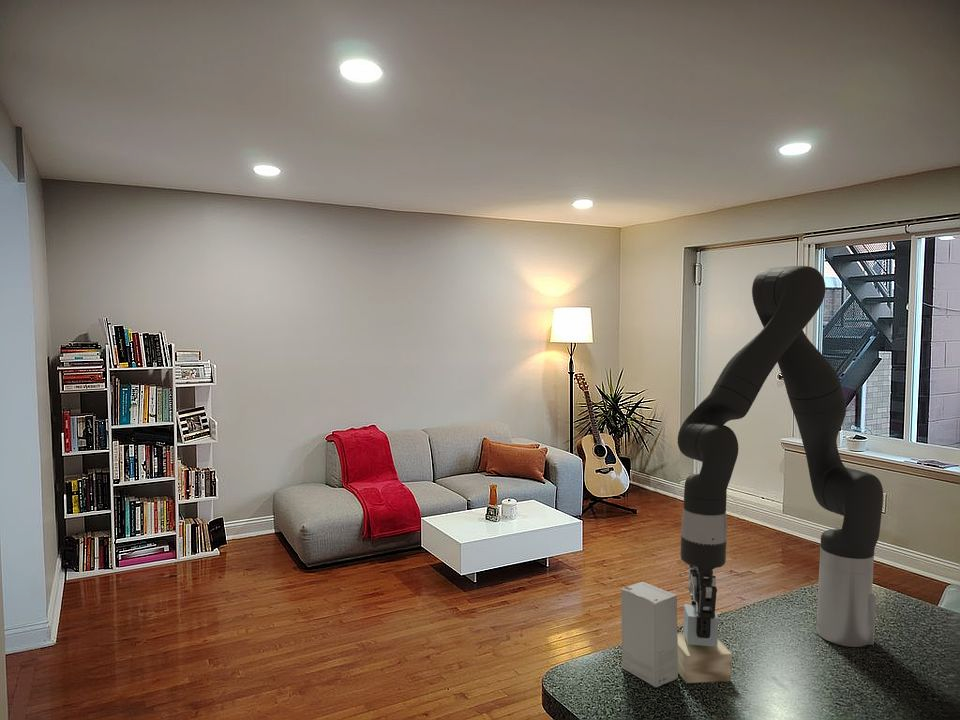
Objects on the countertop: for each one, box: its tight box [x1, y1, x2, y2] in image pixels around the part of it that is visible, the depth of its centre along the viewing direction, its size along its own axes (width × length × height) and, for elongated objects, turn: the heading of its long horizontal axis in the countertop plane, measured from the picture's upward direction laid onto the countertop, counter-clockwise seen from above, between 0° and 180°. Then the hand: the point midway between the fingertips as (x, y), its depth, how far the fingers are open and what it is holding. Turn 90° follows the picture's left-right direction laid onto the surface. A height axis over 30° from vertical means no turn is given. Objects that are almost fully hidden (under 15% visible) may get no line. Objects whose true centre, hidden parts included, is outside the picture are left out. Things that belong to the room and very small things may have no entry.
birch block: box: [677, 632, 733, 684], centre depth 119 cm, size 8×8×5 cm
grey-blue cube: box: [682, 603, 719, 647], centre depth 119 cm, size 5×5×5 cm
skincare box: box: [620, 581, 679, 688], centre depth 117 cm, size 8×6×15 cm
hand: (700, 628), depth 119 cm, fingers open, 5 cm apart
